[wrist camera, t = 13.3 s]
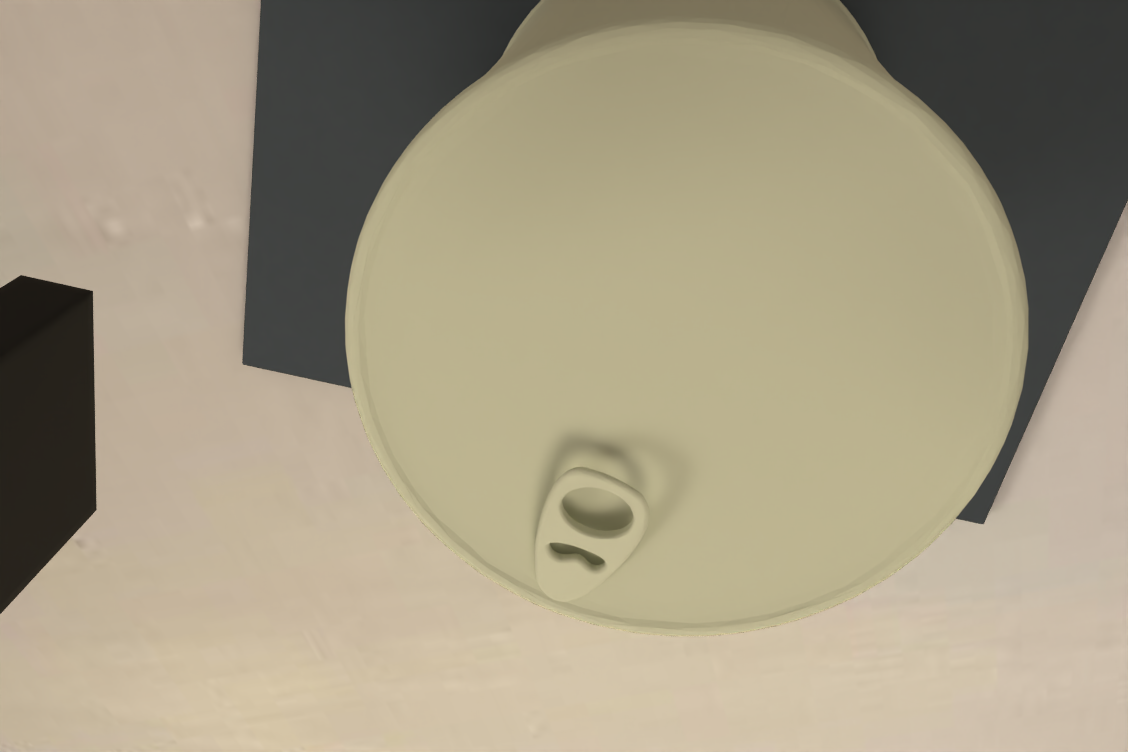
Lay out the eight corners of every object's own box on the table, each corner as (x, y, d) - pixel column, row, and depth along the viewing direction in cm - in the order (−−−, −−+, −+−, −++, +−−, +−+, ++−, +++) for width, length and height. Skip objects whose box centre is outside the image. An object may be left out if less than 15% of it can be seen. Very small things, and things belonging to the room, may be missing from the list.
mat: (1269, -140, 21) (1279, -140, 21) (980, 516, 29) (984, 525, 28) (285, -345, 22) (278, -348, 21) (247, 358, 29) (241, 364, 28)
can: (431, 247, 26) (252, 523, 16) (573, -138, 22) (461, -121, 12) (772, 390, 27) (822, 746, 16) (970, 42, 23) (1211, 216, 12)
